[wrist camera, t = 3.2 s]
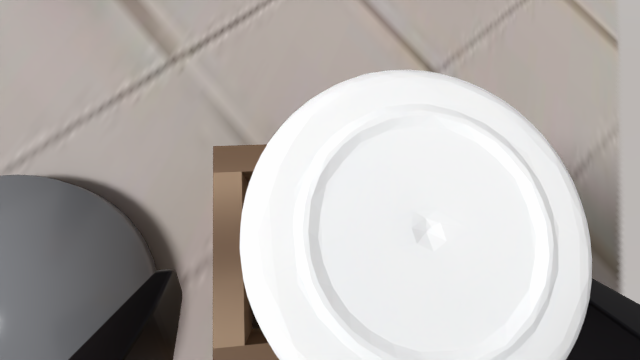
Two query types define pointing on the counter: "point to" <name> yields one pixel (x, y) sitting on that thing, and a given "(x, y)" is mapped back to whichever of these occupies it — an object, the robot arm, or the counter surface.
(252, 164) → the walnut socket
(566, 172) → the sprinkles bottle
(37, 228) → the slate plate
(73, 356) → the robot arm
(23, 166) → the counter surface
